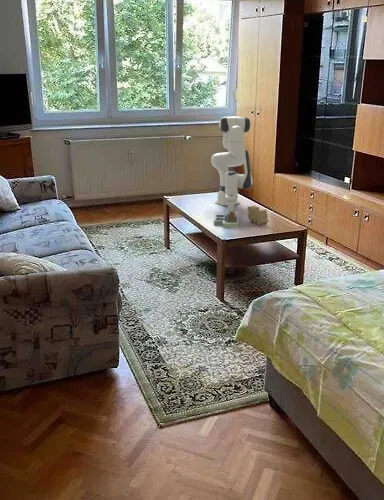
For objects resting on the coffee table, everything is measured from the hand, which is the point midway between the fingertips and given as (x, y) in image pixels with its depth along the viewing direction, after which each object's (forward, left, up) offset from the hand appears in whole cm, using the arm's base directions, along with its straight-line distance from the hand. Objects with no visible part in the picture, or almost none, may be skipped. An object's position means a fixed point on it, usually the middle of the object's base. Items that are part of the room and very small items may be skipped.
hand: (231, 214), depth 359 cm
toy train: (+8, +18, -3) cm, 20 cm away
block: (+4, 0, -3) cm, 5 cm away
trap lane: (+7, -3, -3) cm, 8 cm away
